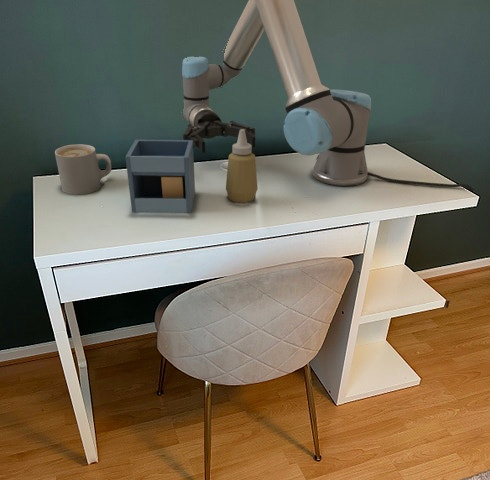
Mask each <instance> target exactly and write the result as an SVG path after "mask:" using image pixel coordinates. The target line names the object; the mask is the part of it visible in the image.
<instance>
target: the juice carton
mask: <svg viewBox="0 0 490 480" xmlns="http://www.w3.org/2000/svg"><path fill="white" fill-rule="evenodd" d="M161 182H162V194H163V198H186V190H185V176H161Z"/></svg>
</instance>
